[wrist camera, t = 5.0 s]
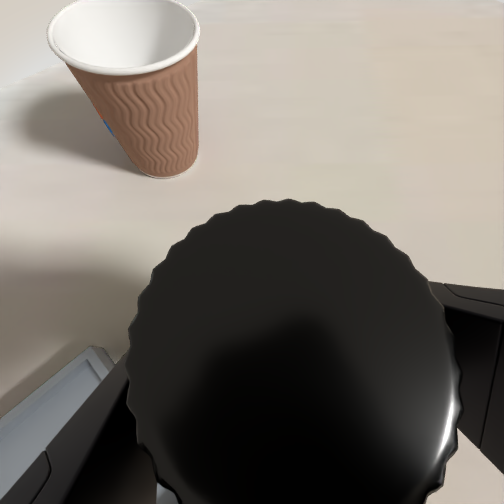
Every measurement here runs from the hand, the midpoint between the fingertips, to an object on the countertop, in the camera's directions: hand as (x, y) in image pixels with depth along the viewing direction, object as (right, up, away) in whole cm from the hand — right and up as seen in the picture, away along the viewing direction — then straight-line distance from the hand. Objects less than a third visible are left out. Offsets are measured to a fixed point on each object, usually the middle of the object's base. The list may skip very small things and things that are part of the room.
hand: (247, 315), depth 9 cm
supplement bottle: (0, -4, +6) cm, 7 cm away
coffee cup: (-10, +13, +20) cm, 26 cm away
